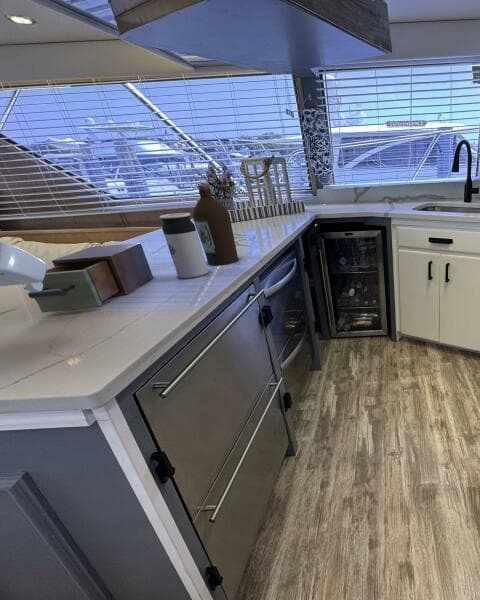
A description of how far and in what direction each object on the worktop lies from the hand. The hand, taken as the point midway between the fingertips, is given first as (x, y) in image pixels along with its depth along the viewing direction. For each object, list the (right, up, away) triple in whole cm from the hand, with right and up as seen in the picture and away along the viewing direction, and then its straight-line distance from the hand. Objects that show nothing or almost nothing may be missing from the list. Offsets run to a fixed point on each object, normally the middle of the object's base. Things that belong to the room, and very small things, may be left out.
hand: (9, 290), depth 61 cm
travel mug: (+11, +6, +38) cm, 40 cm away
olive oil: (+13, +11, +50) cm, 53 cm away
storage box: (-5, +2, +29) cm, 30 cm away
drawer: (-3, -2, +18) cm, 18 cm away
